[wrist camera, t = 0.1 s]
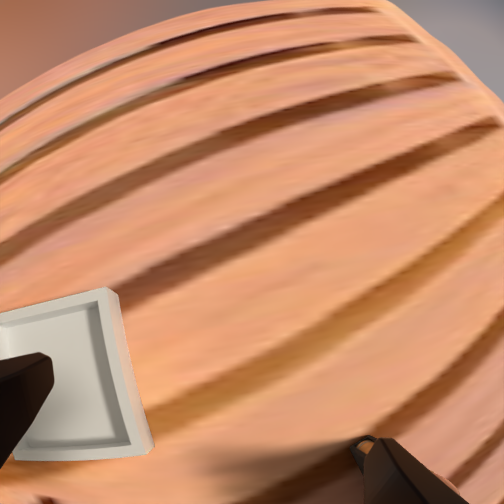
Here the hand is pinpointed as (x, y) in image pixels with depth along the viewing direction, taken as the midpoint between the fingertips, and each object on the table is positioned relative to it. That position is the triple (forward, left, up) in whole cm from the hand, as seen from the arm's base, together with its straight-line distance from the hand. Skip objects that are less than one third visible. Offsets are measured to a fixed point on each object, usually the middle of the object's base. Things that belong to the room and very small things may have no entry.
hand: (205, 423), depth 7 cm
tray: (+3, +12, -15) cm, 19 cm away
